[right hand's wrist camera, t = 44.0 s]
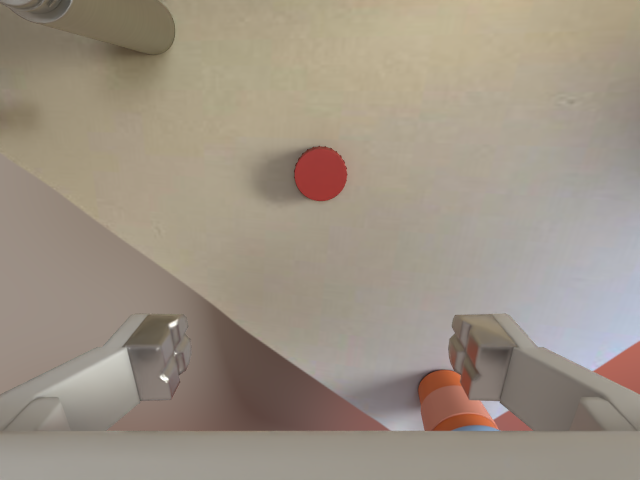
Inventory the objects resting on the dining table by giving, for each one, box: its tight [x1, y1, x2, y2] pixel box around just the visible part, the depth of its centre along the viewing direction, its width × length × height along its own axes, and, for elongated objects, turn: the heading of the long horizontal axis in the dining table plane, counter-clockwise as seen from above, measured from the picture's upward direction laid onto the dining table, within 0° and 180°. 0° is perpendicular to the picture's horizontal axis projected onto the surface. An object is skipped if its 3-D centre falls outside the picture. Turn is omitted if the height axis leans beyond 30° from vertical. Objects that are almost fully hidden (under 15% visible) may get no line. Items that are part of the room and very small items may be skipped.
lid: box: [294, 146, 347, 201], centre depth 35 cm, size 5×5×2 cm
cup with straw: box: [418, 370, 500, 431], centre depth 37 cm, size 9×9×18 cm
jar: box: [0, 0, 175, 55], centre depth 24 cm, size 4×4×15 cm
